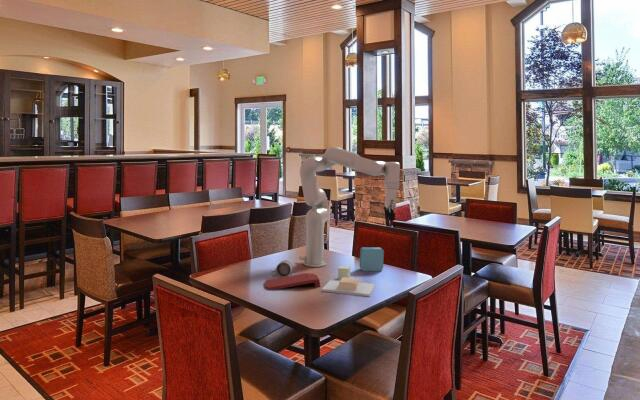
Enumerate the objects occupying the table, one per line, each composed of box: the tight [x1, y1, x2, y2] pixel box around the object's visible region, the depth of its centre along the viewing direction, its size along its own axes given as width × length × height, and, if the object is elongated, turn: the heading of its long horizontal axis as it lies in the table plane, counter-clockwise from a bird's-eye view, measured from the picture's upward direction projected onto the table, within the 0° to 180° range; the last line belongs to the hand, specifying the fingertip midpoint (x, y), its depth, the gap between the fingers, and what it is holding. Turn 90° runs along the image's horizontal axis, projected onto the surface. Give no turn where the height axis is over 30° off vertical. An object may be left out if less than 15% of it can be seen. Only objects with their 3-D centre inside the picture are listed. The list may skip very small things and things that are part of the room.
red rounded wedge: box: [264, 272, 321, 291], centre depth 218 cm, size 12×5×25 cm
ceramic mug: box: [270, 259, 293, 278], centre depth 234 cm, size 11×8×8 cm
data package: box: [359, 246, 385, 272], centre depth 248 cm, size 12×4×12 cm, turn 96°
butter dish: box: [321, 277, 376, 297], centre depth 215 cm, size 22×16×4 cm
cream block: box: [337, 265, 351, 281], centre depth 230 cm, size 5×5×6 cm
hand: (390, 218), depth 240 cm, fingers open, 9 cm apart
